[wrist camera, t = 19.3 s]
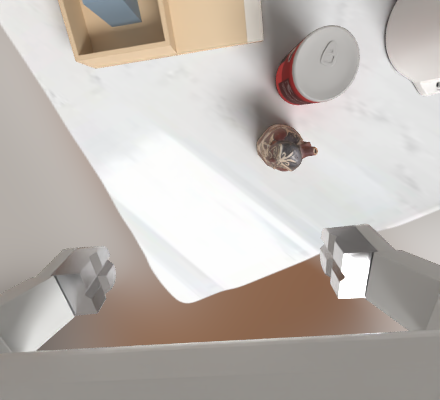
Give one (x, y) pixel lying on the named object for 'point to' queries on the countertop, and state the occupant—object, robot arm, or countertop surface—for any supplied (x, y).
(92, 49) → the mailer box
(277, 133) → the figurine
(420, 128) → the countertop surface
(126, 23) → the blue rectangular block
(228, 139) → the countertop surface
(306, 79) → the canned food
